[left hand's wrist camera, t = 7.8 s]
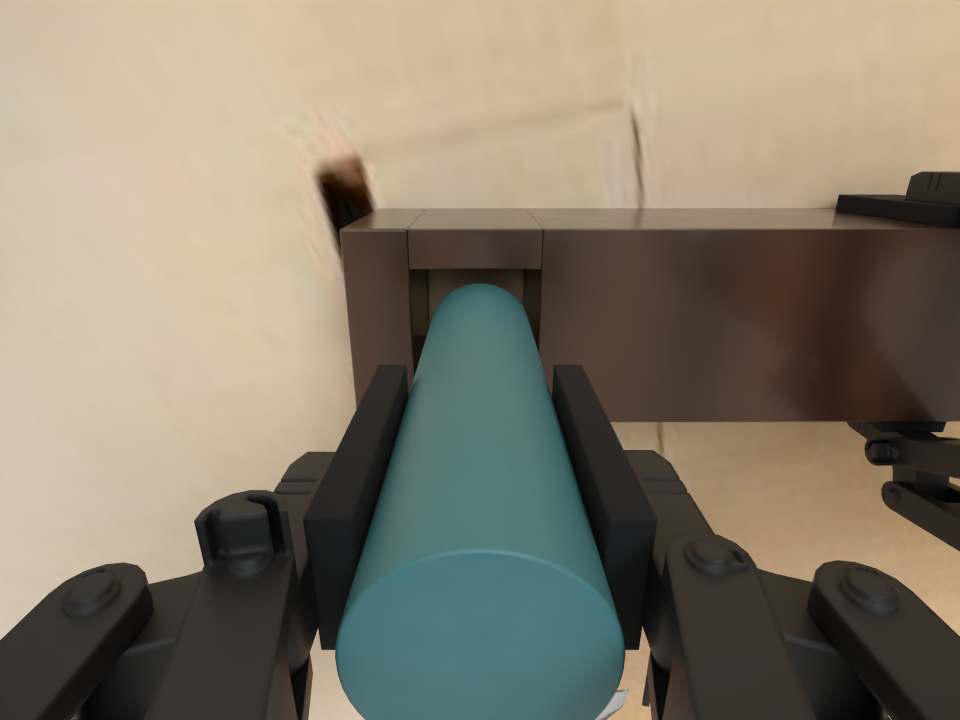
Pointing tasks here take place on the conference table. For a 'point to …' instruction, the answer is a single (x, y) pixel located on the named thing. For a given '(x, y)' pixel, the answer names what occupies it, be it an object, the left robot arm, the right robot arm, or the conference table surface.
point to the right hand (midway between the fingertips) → (842, 290)
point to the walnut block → (684, 305)
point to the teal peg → (480, 543)
